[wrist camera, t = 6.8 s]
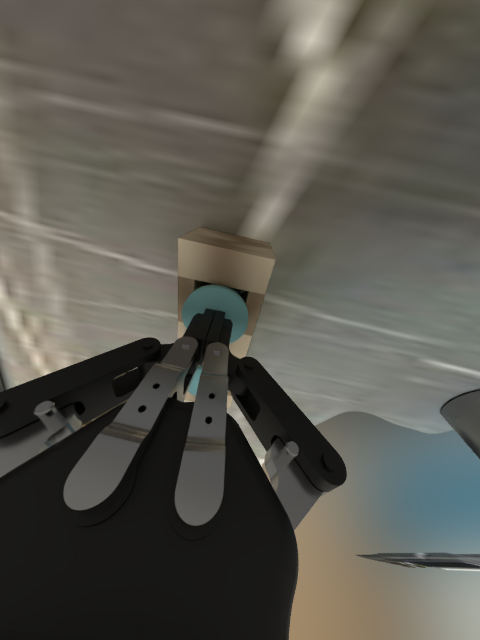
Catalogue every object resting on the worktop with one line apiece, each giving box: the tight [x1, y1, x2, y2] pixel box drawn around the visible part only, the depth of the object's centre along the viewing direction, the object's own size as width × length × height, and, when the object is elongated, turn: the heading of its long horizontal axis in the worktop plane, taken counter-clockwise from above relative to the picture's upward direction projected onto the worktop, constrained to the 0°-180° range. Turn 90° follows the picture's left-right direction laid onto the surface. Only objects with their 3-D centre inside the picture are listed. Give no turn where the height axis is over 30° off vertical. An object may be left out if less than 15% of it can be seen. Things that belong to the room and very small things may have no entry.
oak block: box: [178, 227, 276, 408], centre depth 21 cm, size 7×20×6 cm, turn 169°
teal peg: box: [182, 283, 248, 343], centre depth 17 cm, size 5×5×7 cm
